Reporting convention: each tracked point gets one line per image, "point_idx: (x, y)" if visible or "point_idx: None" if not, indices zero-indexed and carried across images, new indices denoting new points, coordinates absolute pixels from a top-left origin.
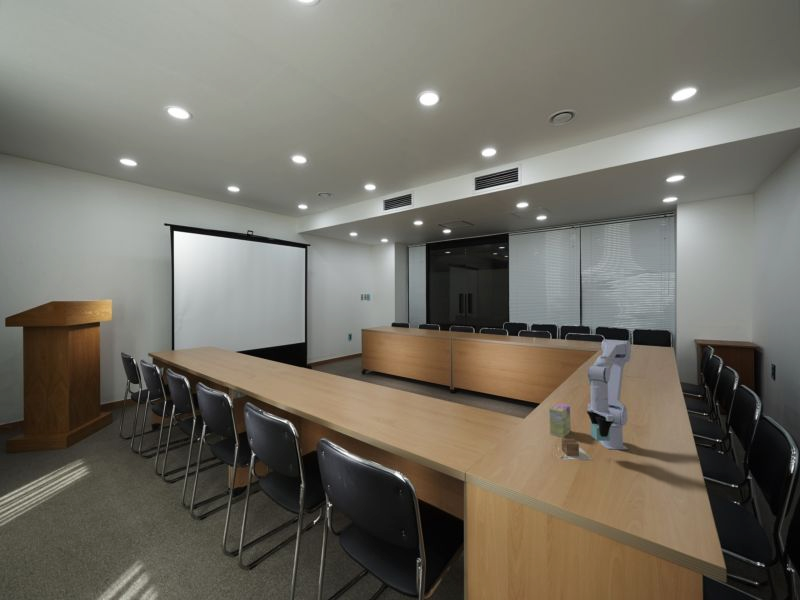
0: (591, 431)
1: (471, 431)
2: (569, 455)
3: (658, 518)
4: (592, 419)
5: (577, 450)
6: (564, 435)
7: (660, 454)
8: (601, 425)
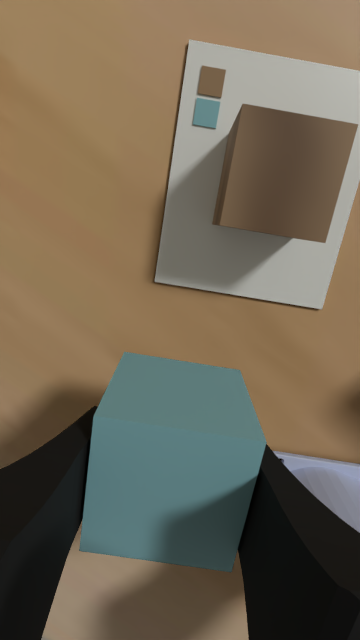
0: (232, 390)
1: None
2: (225, 154)
3: None
4: (281, 521)
5: (216, 213)
6: None
7: (176, 622)
8: None
